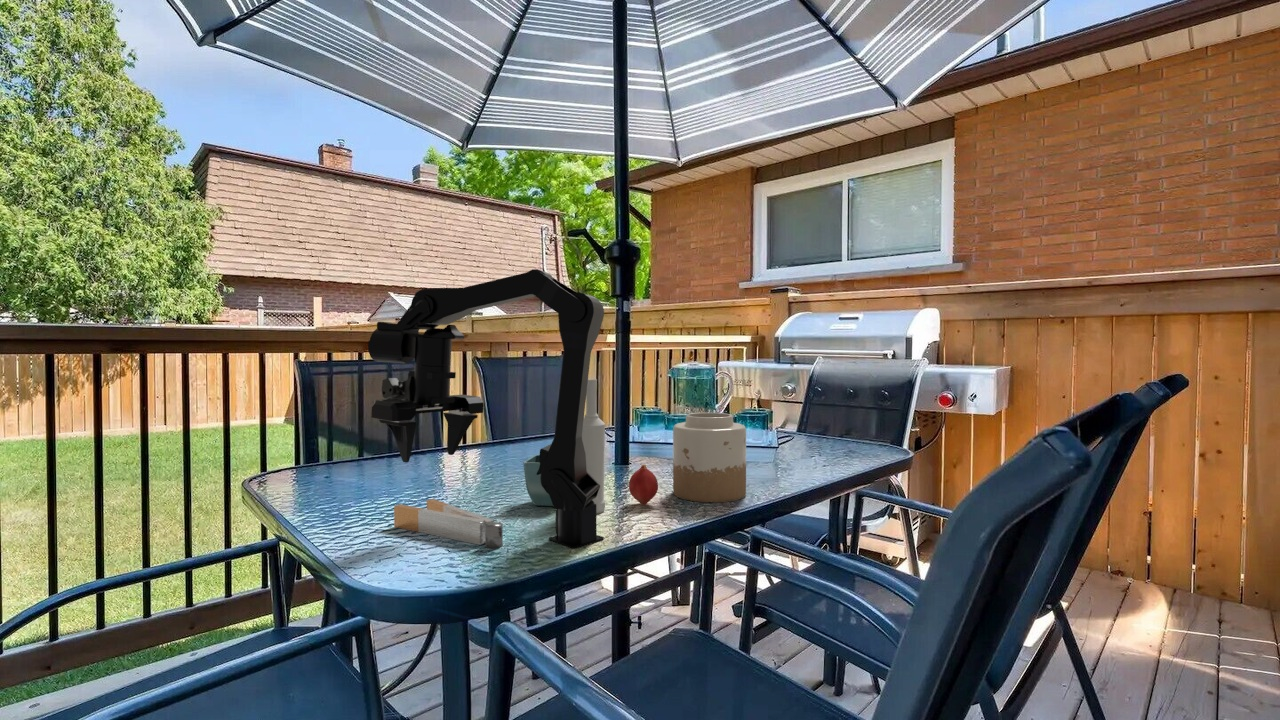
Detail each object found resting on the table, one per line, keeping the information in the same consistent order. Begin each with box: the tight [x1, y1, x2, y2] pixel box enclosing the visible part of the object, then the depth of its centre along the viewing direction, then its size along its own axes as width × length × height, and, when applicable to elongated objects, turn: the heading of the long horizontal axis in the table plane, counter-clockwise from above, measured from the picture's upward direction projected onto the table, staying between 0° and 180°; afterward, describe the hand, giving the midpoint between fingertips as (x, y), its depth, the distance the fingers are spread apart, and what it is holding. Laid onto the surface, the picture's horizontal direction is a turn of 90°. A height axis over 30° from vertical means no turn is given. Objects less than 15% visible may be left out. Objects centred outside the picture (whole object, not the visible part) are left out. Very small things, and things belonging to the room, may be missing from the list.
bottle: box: [582, 378, 606, 515], centre depth 117 cm, size 5×5×25 cm
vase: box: [672, 412, 747, 503], centre depth 131 cm, size 15×15×17 cm
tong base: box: [426, 498, 504, 550], centre depth 104 cm, size 23×3×4 cm, turn 46°
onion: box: [628, 464, 659, 506], centre depth 122 cm, size 6×6×8 cm
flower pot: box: [523, 454, 553, 507], centre depth 123 cm, size 9×9×9 cm
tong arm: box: [393, 503, 486, 546], centre depth 102 cm, size 20×1×4 cm, turn 60°
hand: (429, 458), depth 104 cm, fingers open, 9 cm apart
